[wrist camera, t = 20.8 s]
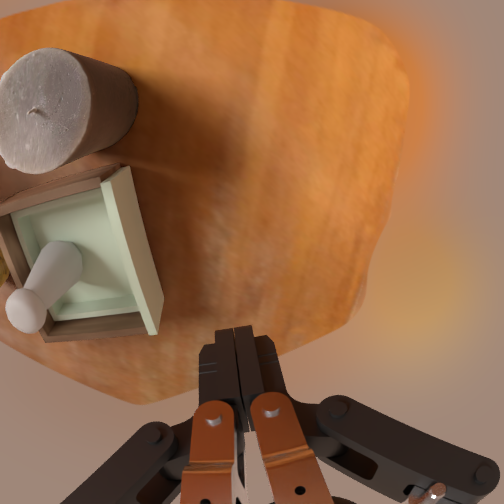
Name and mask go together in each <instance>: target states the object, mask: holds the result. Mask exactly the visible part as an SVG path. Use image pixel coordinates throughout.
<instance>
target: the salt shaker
mask: <svg viewBox="0 0 504 504" xmlns="http://www.w3.org/2000/svg"><path fill="white" fill-rule="evenodd" d="M82 271H83V266H82V253H81V252H80V251H79V249H78V248H77V247H76V246H75V244H74V243H73V242H70V241H60V240H58V241H53V242H49V243H48V244H47V245H46V246H45V247H44V248H43V249H42V250H41V252H40V254H39V256H38V258H37V260H36V262H35V264H34V266H33V268H32V270H31V272H30V274H29V276H28V278H27V281H26V283H25V285H24V287H23V288H20V289H16V290H15V291H14V292H13V293H12V294H11V295H10V297H9V298H8V300H7V302H6V308H5V310H6V313H7V316H8V319H9V320H10V322H11V323H12V325H13V326H14V327H16V328H17V329H18V330H20V331H22V332H24V333H36V332H37V331H38V330H40V329H41V328H42V326H43V325H44V323H45V319H46V315H47V311H46V310H47V309H48V308H49V307H51V306H52V305H53V304H54V303H55V302H56V301H57V300H58V299H59V298H60V297H61V296H63V295H64V294H65V293H66V292H67V291H68V290H69V289H70V288H71V287H73V286H74V285H75V284H76V283H77V282H78V281H79V280H80V277H81V274H82Z"/></svg>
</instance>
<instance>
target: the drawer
mask: <svg viewBox="0 0 504 504" xmlns="http://www.w3.org/2000/svg"><path fill="white" fill-rule="evenodd" d="M100 185H101V187H99V188H95V189H91V190H87V191H83V192H80V193H76V194H72V195H69V196H65V197H61V198H58V199H54V200H51V201H47V202H44V203H40V204H37V205H34V206H31V207H27V208H24V209H21V210H18V211H15V212H12V213H10V215H11V218H12V221H13V224H14V227H15V230H16V233H17V236H18V238H19V241H20V244H21V247H22V249H23V252H24V254H25V257H26V260H27V262H28V265H29V267H30V270H32V268H33V266H34V264H35V262H36V260H37V258H38V256H39V254H40V252H41V250H42V249H43V248H44V247H45V246H46V245H47V244H48V243H49V242H53V241H58V240H60V241H70V242H73V243H74V244H75V246H76V247H77V248H78V249H79V251H80V252H81V253H82V266H83V271H82V274H81V277H80V280H79V281H78V282H77V283H76V284H75V285H74V286H73V287H71V288H70V289H69V290H68V291H67V292H66V293H65V294H64V295H63V296H61V297H60V298H59V299H58V300H57V301H56V302H55V303H54V304H53V305H52V306H51V307H49V308H48V310H49V312H50V314H51V316H52V318H53V320H54V321H62V320H71V319H80V318H89V317H97V316H106V315H114V314H122V313H130V312H137V311H140V313H141V316H142V319H143V321H144V324H145V326H146V329H147V331H148V334H149V335H158V330H159V324H160V319H161V313H162V308H163V303H164V295H163V292H162V288H161V285H160V282H159V278H158V275H157V272H156V268H155V265H154V261H153V258H152V254H151V251H150V247H149V243H148V240H147V236H146V232H145V228H144V225H143V221H142V217H141V213H140V209H139V204H138V200H137V196H136V192H135V188H134V183H133V179H132V174H131V170H130V166H126V167H122V168H120V169H119V170H117V171H116V172H115V173H113V174H112V175H111V176H109V177H108V178H107V179H106V180H104V181H103V182H102V183H100Z"/></svg>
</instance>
